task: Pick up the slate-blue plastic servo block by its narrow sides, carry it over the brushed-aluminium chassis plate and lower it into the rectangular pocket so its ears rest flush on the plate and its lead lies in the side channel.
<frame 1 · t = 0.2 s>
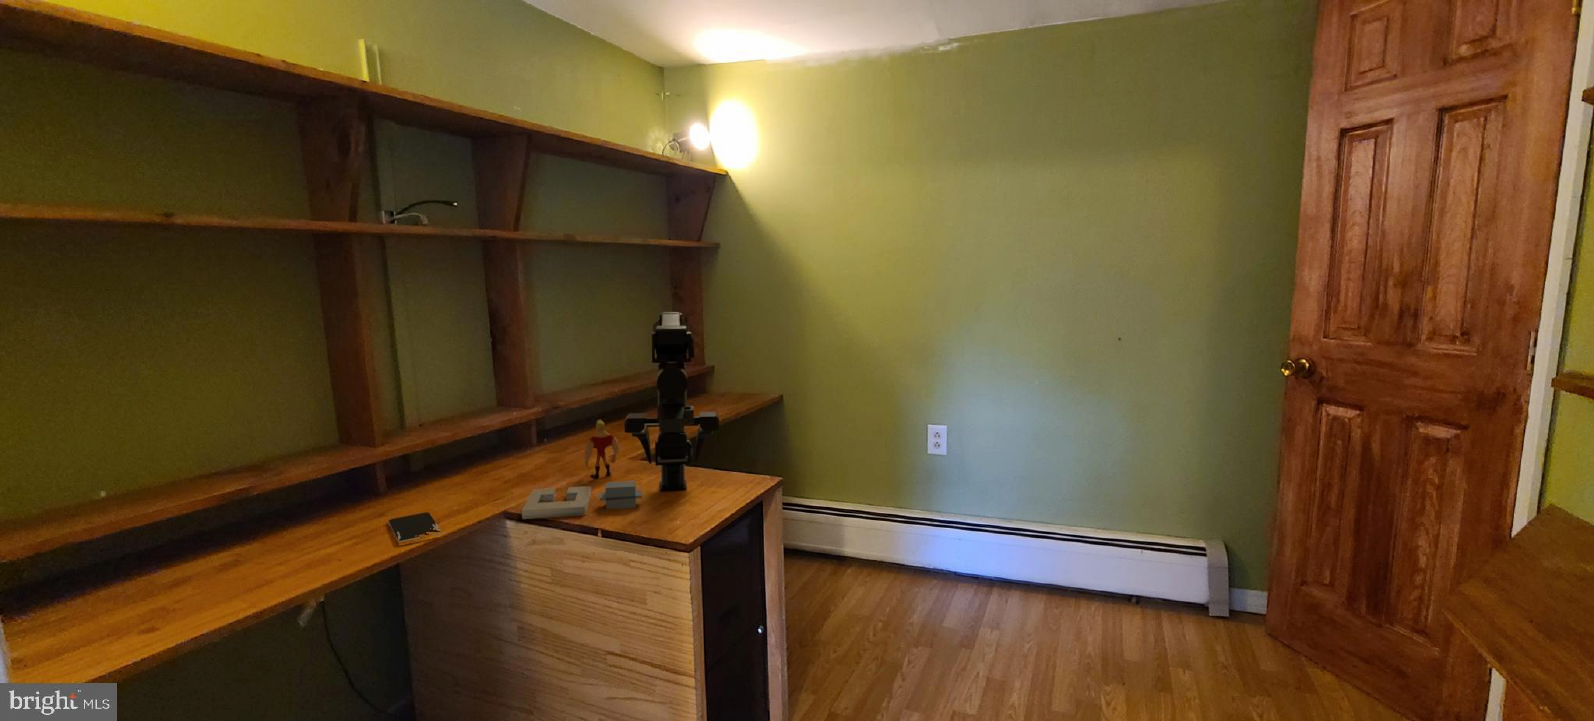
hand: (673, 462, 138), 14 cm above the worktop, fingers open, 9 cm apart
smartphone: (415, 533, 139), on the worktop
action figure: (601, 476, 175), on the worktop
servo: (621, 505, 154), on the worktop
chassis plate: (558, 505, 153), on the worktop
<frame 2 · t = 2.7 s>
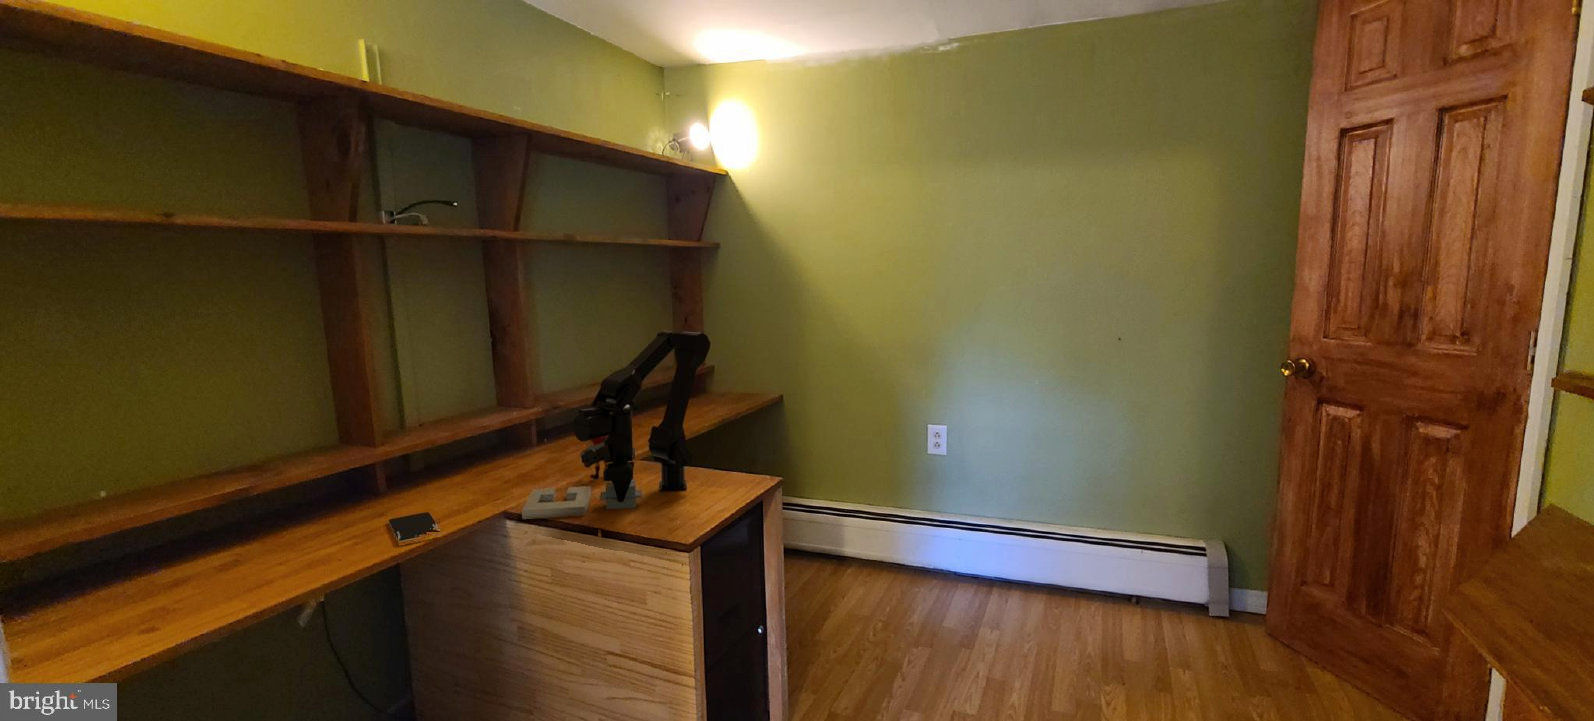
hand: (621, 498, 154), 2 cm above the worktop, fingers closed on servo, 4 cm apart
servo: (621, 505, 154), on the worktop, touching gripper
everything else where it was.
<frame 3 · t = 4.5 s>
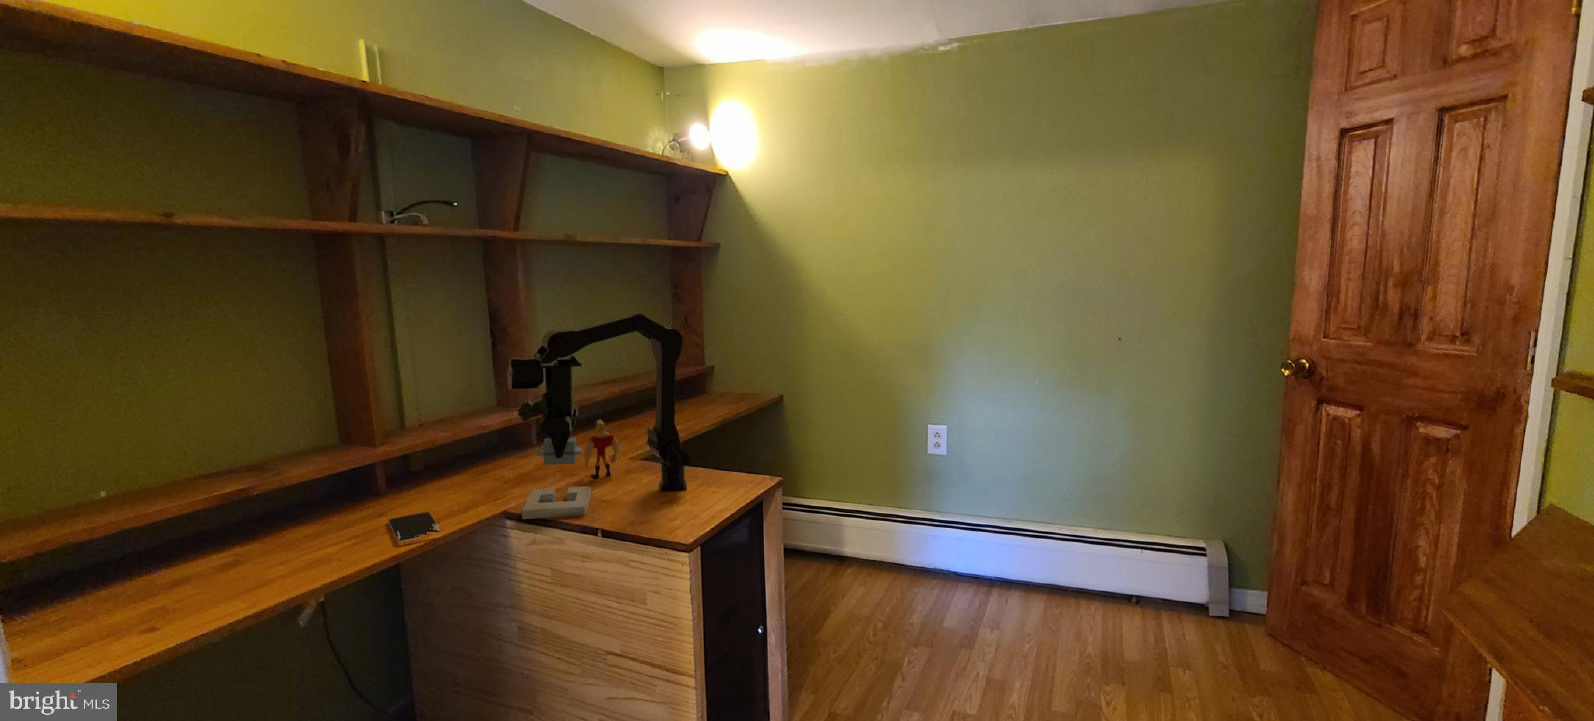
hand: (560, 455, 151), 12 cm above the worktop, fingers closed on servo, 4 cm apart
servo: (560, 461, 151), point 10 cm above the worktop, touching gripper
everything else where it was.
when the fingers open (3 cm above the worktop, at t = 6.3 s): servo drops 1 cm, resting in chassis plate.
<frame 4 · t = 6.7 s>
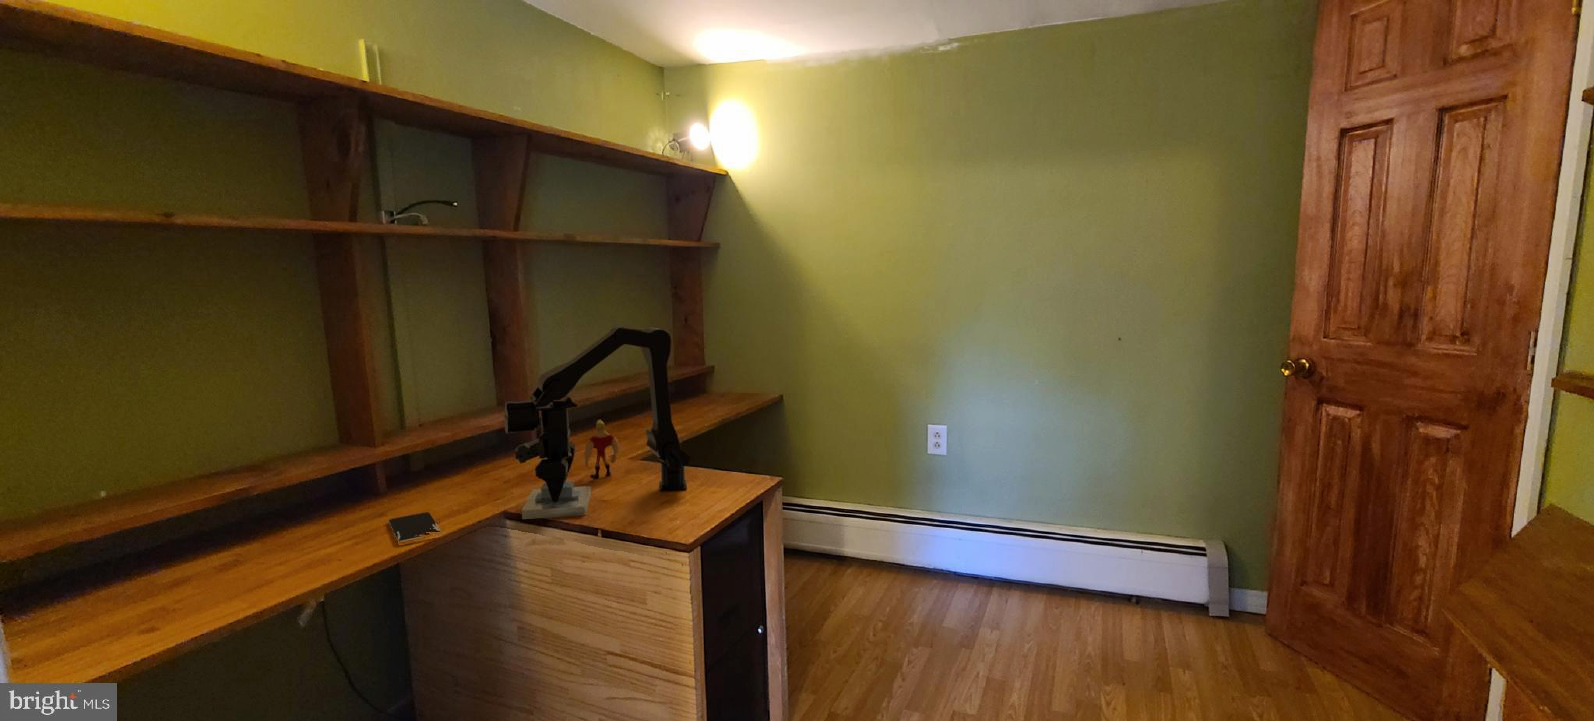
hand: (558, 494, 152), 3 cm above the worktop, fingers open, 9 cm apart
servo: (558, 506, 153), resting in chassis plate
everything else where it was.
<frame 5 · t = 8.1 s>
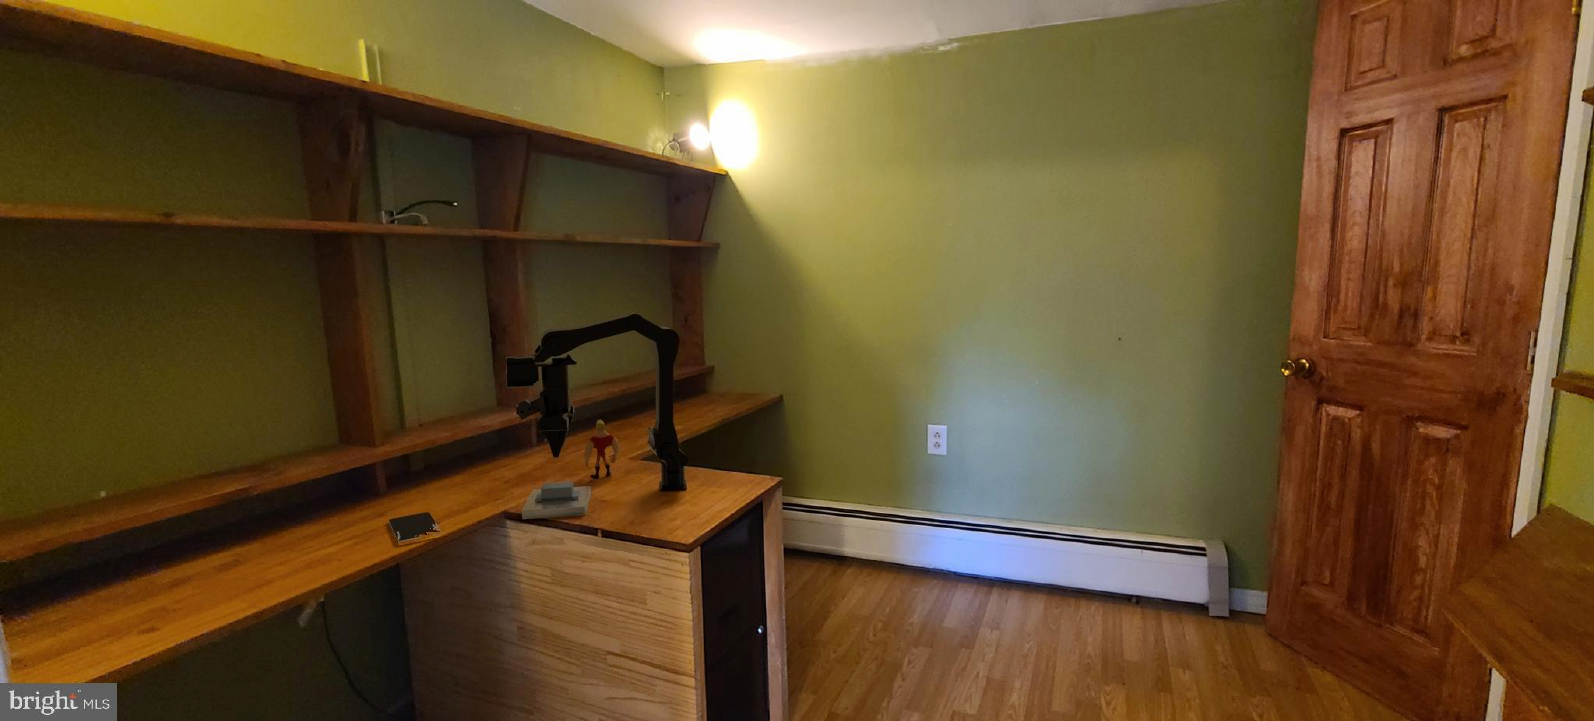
hand: (558, 451, 154), 12 cm above the worktop, fingers open, 9 cm apart
nothing on the worktop moved.
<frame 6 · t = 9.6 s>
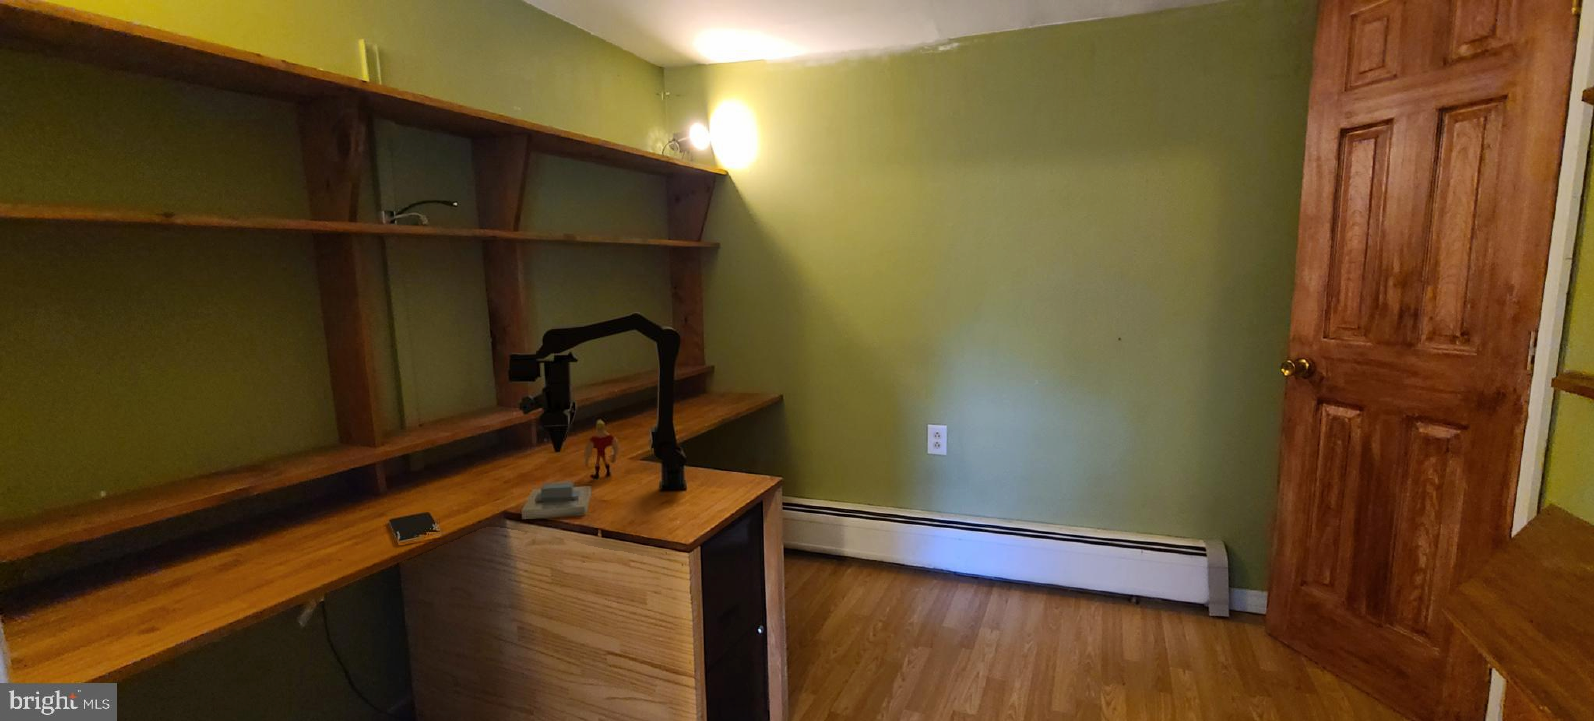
hand: (560, 446, 158), 12 cm above the worktop, fingers open, 9 cm apart
nothing on the worktop moved.
at the end: servo 0.0 cm off-centre on the chassis plate, point 0.0 cm above the chassis plate's base; servo tilted 0°; the gripper is holding nothing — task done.
